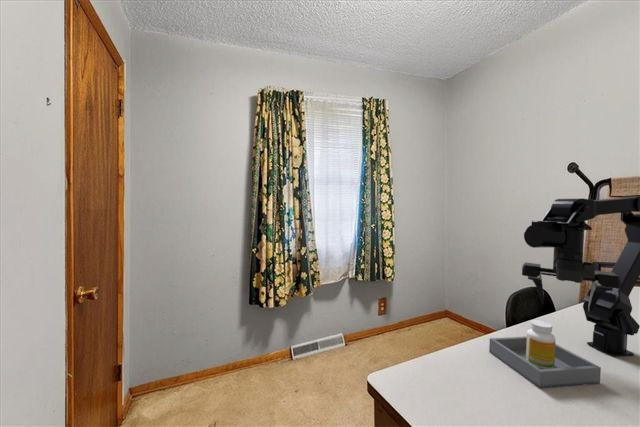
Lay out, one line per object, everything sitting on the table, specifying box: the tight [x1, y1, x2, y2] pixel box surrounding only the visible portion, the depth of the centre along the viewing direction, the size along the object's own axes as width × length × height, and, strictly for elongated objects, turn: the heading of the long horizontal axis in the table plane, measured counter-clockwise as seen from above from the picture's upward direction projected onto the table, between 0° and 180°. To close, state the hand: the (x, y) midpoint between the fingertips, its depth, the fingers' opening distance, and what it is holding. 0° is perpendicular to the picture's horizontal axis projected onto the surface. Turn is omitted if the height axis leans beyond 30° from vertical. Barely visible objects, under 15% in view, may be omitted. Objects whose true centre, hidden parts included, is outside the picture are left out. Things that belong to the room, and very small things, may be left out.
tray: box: [488, 335, 602, 389], centre depth 67 cm, size 15×15×4 cm
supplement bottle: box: [526, 319, 557, 369], centre depth 67 cm, size 5×5×10 cm
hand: (565, 307), depth 73 cm, fingers open, 9 cm apart
